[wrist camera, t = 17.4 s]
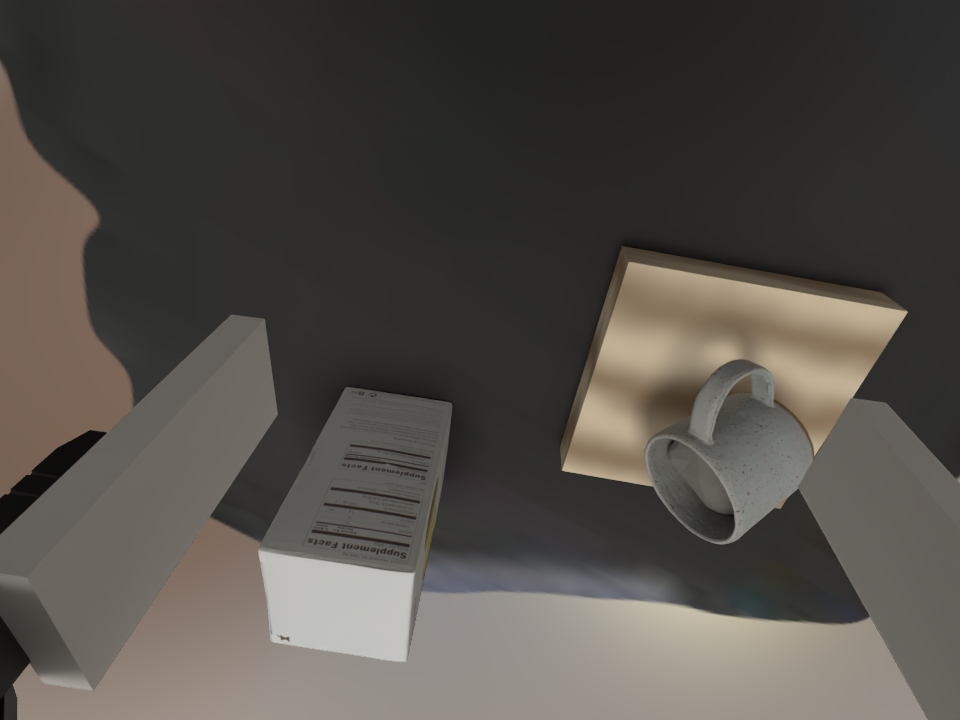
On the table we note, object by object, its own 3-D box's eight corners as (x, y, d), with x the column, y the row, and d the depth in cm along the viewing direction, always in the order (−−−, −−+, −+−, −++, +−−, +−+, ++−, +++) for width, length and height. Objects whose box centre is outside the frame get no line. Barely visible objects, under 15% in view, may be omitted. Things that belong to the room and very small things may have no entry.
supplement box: (444, 483, 49) (408, 668, 34) (345, 468, 49) (268, 647, 35) (454, 398, 44) (416, 575, 29) (343, 383, 44) (252, 550, 30)
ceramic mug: (716, 421, 41) (796, 504, 37) (632, 469, 39) (708, 563, 35) (774, 331, 33) (887, 425, 29) (672, 384, 30) (779, 495, 26)
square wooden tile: (622, 245, 36) (629, 261, 33) (881, 292, 36) (907, 311, 34) (560, 446, 45) (561, 470, 43) (766, 482, 46) (780, 508, 43)
